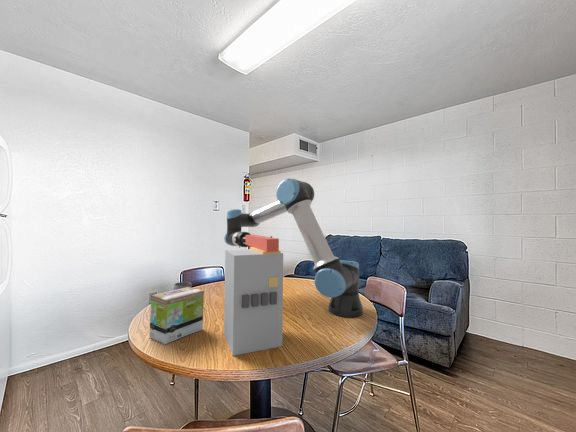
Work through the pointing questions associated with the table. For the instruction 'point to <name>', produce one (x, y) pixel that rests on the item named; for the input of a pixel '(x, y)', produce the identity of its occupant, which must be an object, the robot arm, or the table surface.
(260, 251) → the ochre pad
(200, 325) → the tea box
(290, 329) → the table surface
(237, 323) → the breaker panel
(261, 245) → the bar
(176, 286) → the cup
